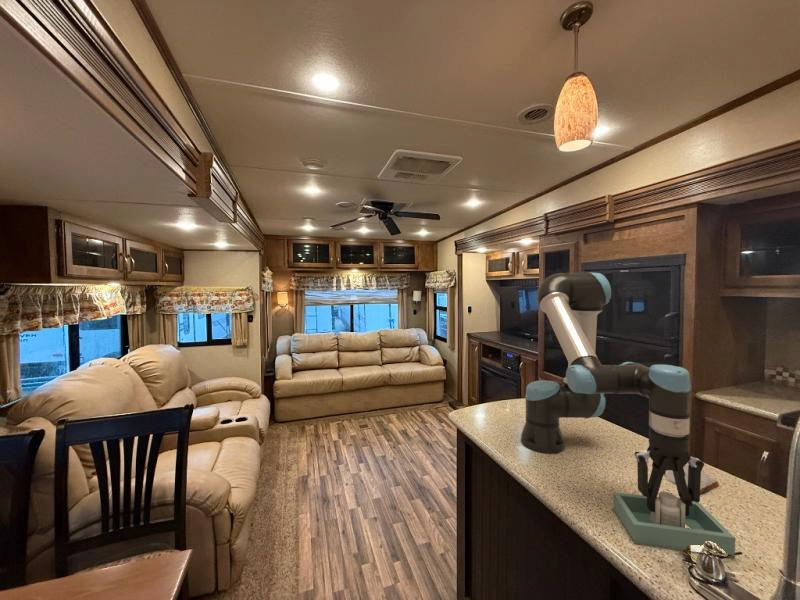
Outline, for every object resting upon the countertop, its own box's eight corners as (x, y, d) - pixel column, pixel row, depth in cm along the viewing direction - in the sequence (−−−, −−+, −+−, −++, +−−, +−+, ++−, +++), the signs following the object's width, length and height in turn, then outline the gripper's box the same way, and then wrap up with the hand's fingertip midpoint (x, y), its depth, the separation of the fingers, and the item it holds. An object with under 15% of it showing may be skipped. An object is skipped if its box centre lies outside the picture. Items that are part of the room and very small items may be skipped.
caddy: (612, 508, 87) (613, 492, 87) (697, 519, 83) (698, 501, 82) (634, 543, 75) (634, 524, 75) (734, 558, 71) (735, 537, 70)
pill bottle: (656, 518, 82) (656, 487, 82) (679, 525, 79) (679, 494, 79) (655, 528, 78) (656, 496, 78) (679, 536, 76) (680, 504, 75)
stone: (657, 478, 101) (657, 466, 101) (681, 469, 105) (681, 459, 105) (697, 497, 92) (697, 485, 91) (722, 487, 96) (722, 476, 96)
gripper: (634, 434, 76) (633, 530, 77) (723, 441, 72) (721, 543, 73) (620, 421, 84) (620, 509, 85) (701, 427, 80) (699, 520, 80)
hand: (667, 525), depth 79 cm, fingers closed on pill bottle, 4 cm apart
